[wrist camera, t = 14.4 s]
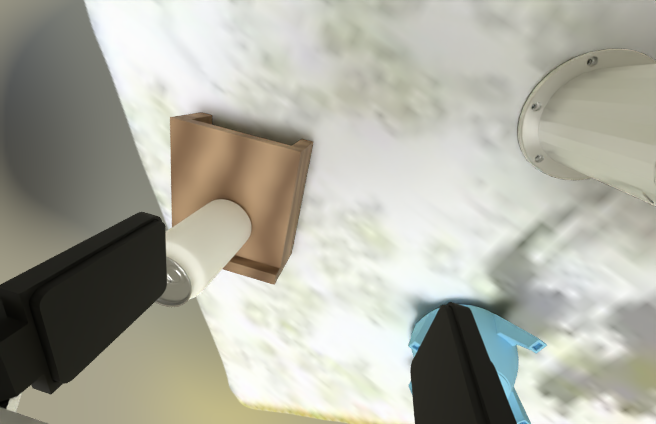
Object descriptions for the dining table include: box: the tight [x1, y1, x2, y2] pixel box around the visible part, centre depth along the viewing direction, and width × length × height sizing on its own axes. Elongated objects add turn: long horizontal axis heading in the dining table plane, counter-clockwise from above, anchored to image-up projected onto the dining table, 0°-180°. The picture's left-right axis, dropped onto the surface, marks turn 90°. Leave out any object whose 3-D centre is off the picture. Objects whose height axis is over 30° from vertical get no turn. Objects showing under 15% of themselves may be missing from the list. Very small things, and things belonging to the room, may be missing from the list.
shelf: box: [170, 113, 313, 284], centre depth 37 cm, size 15×17×8 cm
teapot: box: [408, 304, 547, 424], centre depth 39 cm, size 15×15×11 cm
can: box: [155, 199, 251, 307], centre depth 30 cm, size 6×6×12 cm
